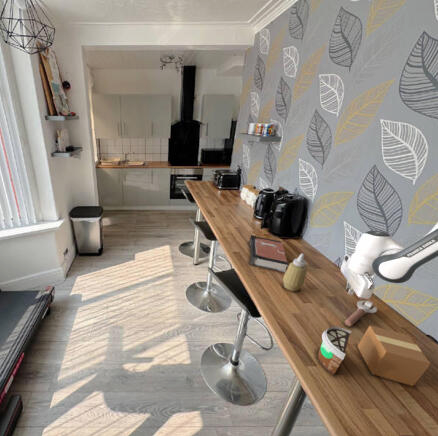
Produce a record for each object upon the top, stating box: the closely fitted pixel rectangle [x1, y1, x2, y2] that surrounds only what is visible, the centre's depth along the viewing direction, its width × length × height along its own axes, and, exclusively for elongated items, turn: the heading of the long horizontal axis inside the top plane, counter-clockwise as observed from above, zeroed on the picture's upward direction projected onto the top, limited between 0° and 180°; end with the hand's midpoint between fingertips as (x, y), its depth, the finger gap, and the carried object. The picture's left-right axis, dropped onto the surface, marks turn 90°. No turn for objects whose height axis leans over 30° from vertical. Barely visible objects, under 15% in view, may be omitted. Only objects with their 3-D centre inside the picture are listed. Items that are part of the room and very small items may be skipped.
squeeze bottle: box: [282, 252, 308, 292], centre depth 104 cm, size 8×8×18 cm
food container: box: [317, 326, 352, 375], centre depth 74 cm, size 12×6×10 cm, turn 134°
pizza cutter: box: [344, 299, 378, 327], centre depth 93 cm, size 20×6×3 cm, turn 121°
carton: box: [357, 325, 432, 387], centre depth 73 cm, size 10×10×10 cm
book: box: [248, 234, 289, 274], centre depth 131 cm, size 26×18×5 cm
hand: (348, 292), depth 103 cm, fingers closed
